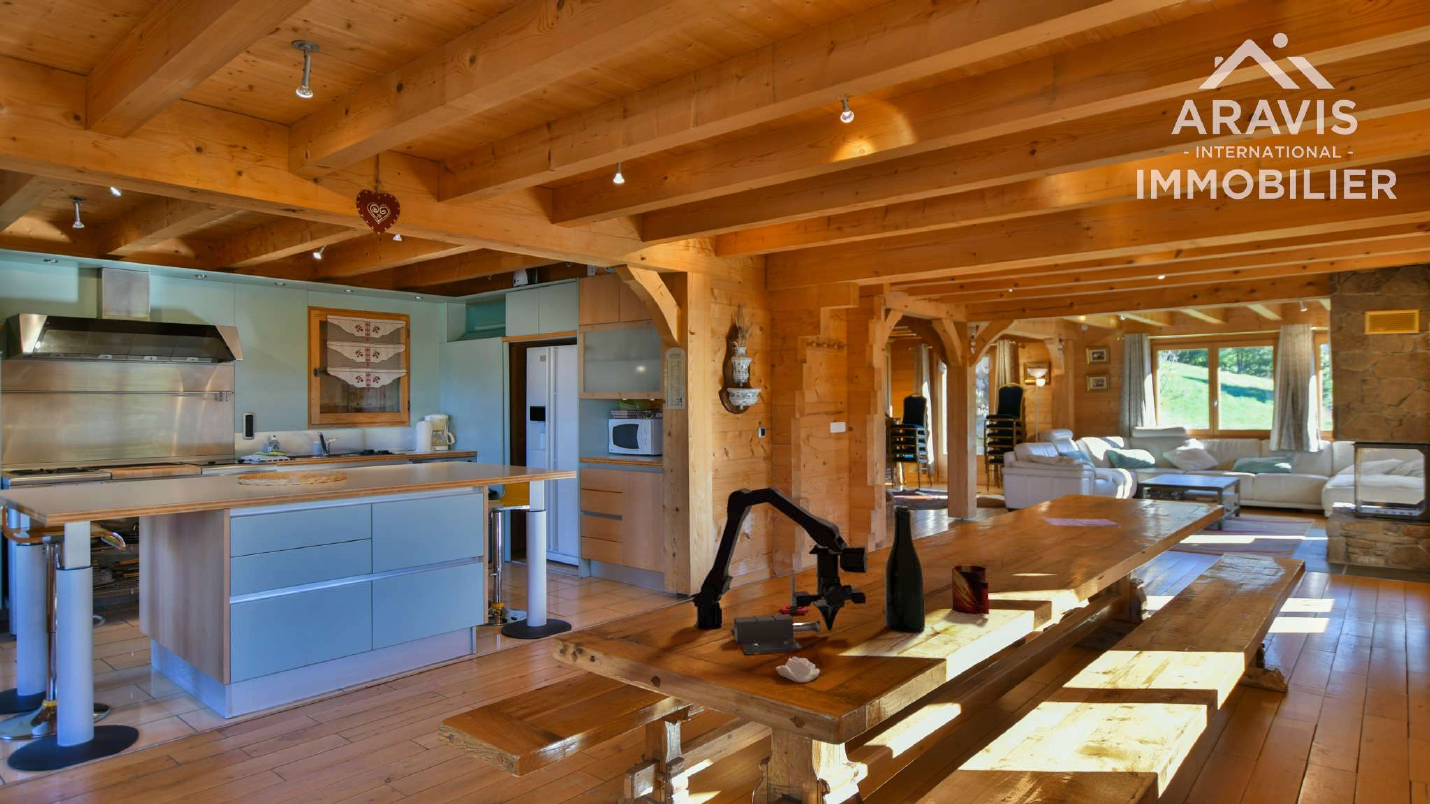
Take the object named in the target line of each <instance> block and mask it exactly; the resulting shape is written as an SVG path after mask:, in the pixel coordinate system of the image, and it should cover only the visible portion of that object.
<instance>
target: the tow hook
mask: <svg viewBox="0 0 1430 804" xmlns="http://www.w3.org/2000/svg"><path fill="white" fill-rule="evenodd" d="M795 572H796V571H795V569H792V570H791V597H790V604H786V605H782V606H780V611H781V612H782V615H784V614H789V615H790V614H798V615H800V614H805V615H806V612H805V611H807V612H809V611H810V606H809V607H801V608H803V609H800V608H798V607H796V606H795V605H794V604H793V602H792V594H793V593H794V592H797V591H796V584H797V583H796V577H795V575H796V574H795ZM789 607H790V608H789ZM787 608H789V609H787ZM808 610H809V611H808Z"/></svg>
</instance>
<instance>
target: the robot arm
mask: <svg viewBox="0 0 1430 804" xmlns="http://www.w3.org/2000/svg"><path fill="white" fill-rule="evenodd" d="M766 503H768V504H769V505H771V506H772V507H774V508H775V509H777V510H778V511H780V513H782V514H784V516H786V517H788V518H789V519H791V520H792V521H793V522H795V523H796V524H798V525H799V526H800V527H802V528H803V529H804V531H805V532H806V533H807V535H808V536H809V537H810V538H811V539H812V540H813V541H814V542H815V543H816V544H814V546H813V547H812V548H811V550H809V552H808V554H809V555H816V575H815V576H816V578H817V579H816V580H817V583H816V585H817V588H816V594H810V593H809V592H808V591H807V590H804V591H803V590H801V591H796V592H794V593H793V594H792V593H791V596H792V602H793V604H794V605H795V606H796V607H809V608H810V605H811V604H812V605H813V606H814V607H815V608H816V609H818V610H819V612H820V614H821V617H822V620H823V622H824V625H825V628H826V630H827V631H831V630H832V628H833V625H834V622H835V620H836V617H837V614H838V612H839V611H840V610H841V609H843V608H845V604H846V601H851V602H852V603H853V604H855V605H861V604H866V594H865V592H863V591H862V590H861V589H859V588H853V587H852V585H851V584H844V585H842V583H841V577H840V576H839V574H840V571H839V570H840V569H841V570H842V571H844V573H852V574H853V573H855V574H867V573H868V570H869V569H868V568H869V557H868V555H867V550H866V549H867V548H866V547H867V546H866V547H865V546H848V544H847V543H846V541H845V540H844V539H843V537H842V535H841V534H840V528H839V527H838V526H837V525H836V523H834V522H832V521H829V520H827V519H825V518H822V517H820V516H817V515H815V514H813V513H811V511H808V510H807V509H805V508H804V507H803V506H801V505H800V504H799V503H797V502H796V501H794V500H793V499H792V498H790V497H788V496H787V495H786V494H784V493H783V492H782V491H780V490H779V489H778V488H777V487H775V486H773V485H772V486H768V487H766V488H758V489H752V490H751V489H749V488H745V487H744V488H739V489H736V490H734V491H732V492H731V493H730V494H729V495H728V498H727V504H726V523H725V527H724V529H723V532H722V536H721V539H720V543H719V546H718V549H717V552H716V555H715V559H714V562H713V565H712V567H711V569H710V570H709V572H708V573H707V575H706V577H705V578H704V581H703V582H702V584H701V586H700V591H699V592H698V593H697V594H696V595H695V596H694V598H693V599H692V602H693V605H694V607H695V608H696V621H695V624H696V626H697V629H698V630H703V629H718V628H719V629H720V628H722V624H723V609H722V607H721V603H720V601H722V597H723V596H724V595H725V594H726V593H727V592H729V590H730V589H731V583H732V581H733V580H734V579H733V578H734V576H732V575H729V573H730V572H729V569H730V565H731V562H732V559H733V554H734V552H735V549H736V545H737V542H738V539H739V536H740V532H741V529H742V526H743V523H744V521H745V520H746V518H747V516H748V515H749V514H750V512H751V510H752V508H753V506H756V505H761V504H766Z"/></svg>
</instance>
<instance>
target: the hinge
mask: <svg viewBox="0 0 1430 804" xmlns="http://www.w3.org/2000/svg"><path fill="white" fill-rule="evenodd" d="M733 621H734V622H733V624H734V625H732V627H731V628H732V632H733V633H734V640H735V642H736V644H737V645H741V647H743V648H742V649H743V651H744V654H745V655H746V656H749V655H748V654H751V655H756V654H755V653H766V654H774V653H773V652H780V653H792V652H793V651H794V652H803V649H802V646H801V645H800V644H799V642H798V641H797V639H795V636H794V633H793V623H794V619H793V617H792V615H790V614H774V615H773V613H772V614H771V615H757V616H756V615H753V616H743V617H740V616H739V617H734V618H733Z"/></svg>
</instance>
